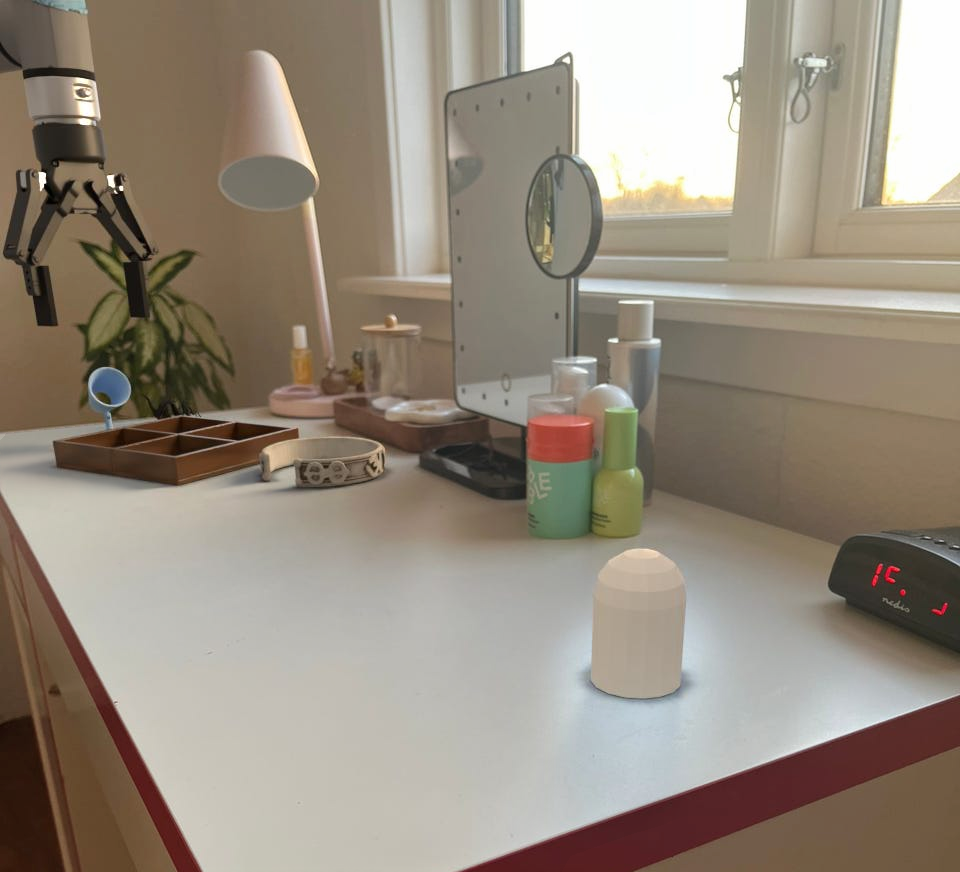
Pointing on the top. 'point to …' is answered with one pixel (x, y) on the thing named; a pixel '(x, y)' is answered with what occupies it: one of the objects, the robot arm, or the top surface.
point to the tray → (171, 448)
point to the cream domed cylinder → (638, 625)
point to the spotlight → (108, 391)
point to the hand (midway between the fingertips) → (96, 321)
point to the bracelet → (325, 460)
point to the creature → (163, 409)
